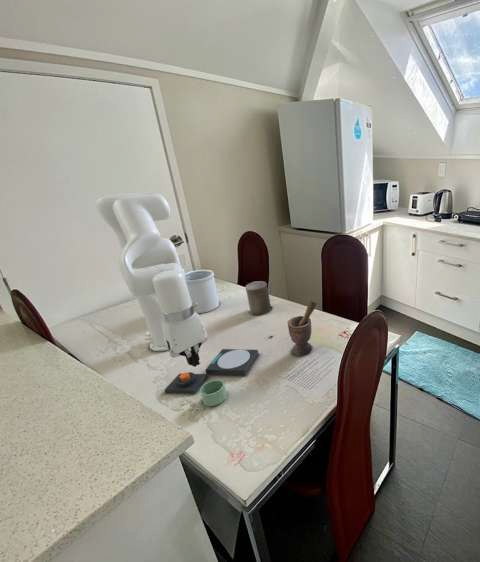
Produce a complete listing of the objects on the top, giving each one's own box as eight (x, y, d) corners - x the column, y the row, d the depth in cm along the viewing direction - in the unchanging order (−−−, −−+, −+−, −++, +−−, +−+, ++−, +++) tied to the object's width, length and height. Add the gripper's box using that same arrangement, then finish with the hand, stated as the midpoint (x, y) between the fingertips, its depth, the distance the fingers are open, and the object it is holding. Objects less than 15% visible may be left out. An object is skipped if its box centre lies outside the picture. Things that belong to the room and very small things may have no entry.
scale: (206, 375, 110) (205, 368, 109) (223, 354, 121) (222, 348, 120) (245, 376, 109) (244, 369, 108) (259, 355, 120) (257, 349, 119)
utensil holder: (211, 297, 166) (203, 267, 159) (226, 304, 158) (219, 273, 151) (182, 308, 156) (173, 276, 149) (197, 317, 147) (188, 283, 140)
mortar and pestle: (307, 337, 130) (302, 295, 122) (323, 344, 126) (319, 300, 118) (287, 352, 121) (280, 307, 113) (303, 359, 117) (297, 313, 109)
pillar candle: (274, 310, 152) (269, 282, 146) (254, 317, 146) (249, 288, 140) (266, 303, 159) (261, 276, 153) (247, 310, 153) (241, 282, 147)
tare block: (165, 393, 102) (162, 386, 101) (180, 376, 109) (178, 369, 108) (194, 393, 101) (192, 386, 100) (208, 377, 109) (206, 370, 108)
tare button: (178, 381, 103) (177, 377, 103) (184, 375, 106) (182, 372, 105) (187, 381, 103) (185, 378, 102) (192, 376, 106) (190, 372, 105)
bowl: (199, 407, 96) (195, 394, 94) (210, 391, 103) (207, 379, 101) (220, 407, 96) (217, 395, 94) (231, 391, 102) (227, 379, 100)
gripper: (196, 299, 97) (210, 348, 105) (144, 321, 86) (163, 374, 93) (210, 305, 94) (223, 355, 101) (158, 328, 82) (176, 383, 89)
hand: (194, 364), depth 97 cm, fingers closed
